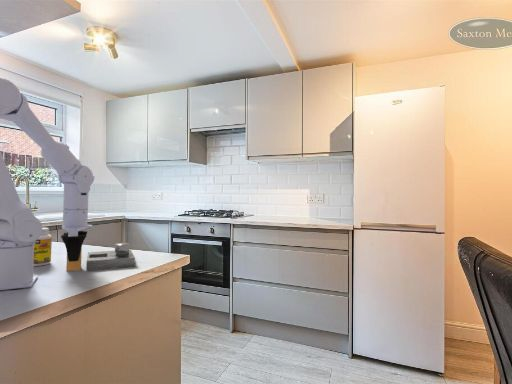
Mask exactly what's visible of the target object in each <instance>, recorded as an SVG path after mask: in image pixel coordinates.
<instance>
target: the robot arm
mask: <svg viewBox="0 0 512 384" xmlns="http://www.w3.org/2000/svg"><path fill="white" fill-rule="evenodd" d="M0 120H5V121H8V122H13V123H14V124H15V125H16V126H17V127H18V128H19V129H20V130H21V131H22V132H24V133H25V135H27V136H28V137H29V139H31V140H32V141H33V142H34V143H35V144H36V145H37V146H38V147H40V148H41V151H40V155H41V157H42V158H43V159H44V160H45V161H46V162H47V163H48V164H49V165H50V167H52V168H53V169H54V170H55V172H56V173H57V176H58V180H59V182H60V183H61V184H62V185H63V205H62V208H63V210H62V225H61V229H62V230H63V231H66V232H64V233H63V234H61V235H60V238H61V240H62V241H63V243H64V246H65V250H66V257H67V256H68V260H69V262H71V261H78V260H79V256H80V252H81V247H83V244H84V241H85V240H86V238H87V234H88V230H87V229H91V228H93V224H88V219H89V217H88V216H89V193H90V191H91V186H92V184H93V183H94V180H95V176H94V174H93V171H92V169H90V168H89V167H88V166H86V165H83V164H82V163H81V161H80V159H78V158H77V157H76V156H75V155H74V154H73V153H72V151H71V150H70V146H69V145H68V144H65V143H64V142H61V141H56V140H55V139H54V137H53V136H52V135H51V134H50V133H49V131H48V130H47V128H46V127H45V126H44V125H43V122H41V120H40V119H39V118H38V116H37V115H35V113H34V112H33V110H32V109H31V107H30V106H29V101H28V98H27V97H26V96H25V95H24V94H23V93H21V91H20V90H19V88H18V86H16V84H15V83H13V82H12V81H10V80H8V79H7V78H3V77H0ZM11 176H12V175H11V174H10V172H9V169H8V166H7V164H6V162H5V158H4V156H3V153H2V151H1V150H0V291H6V290H14V289H23V288H24V289H26V288H31V287H32V286H33V285H34V283H35V282H36V280H37V279H38V276H39V275H34V266H33V261H34V245H35V241H36V240H37V239H38V238H39V237H40V235H41V233H42V228H43V224H42V222H41V220H40V219H38V218H37V217H36V216H35V215H34V213H33V211H32V209H31V208H30V207H29V206H28V205H27V204H25V202H23V201H22V200H20V197H19V194H18V191H17V189H16V186H15V184H14V181H13V179H12V177H11Z"/></svg>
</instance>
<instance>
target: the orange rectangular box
mask: <svg viewBox="0 0 512 384" xmlns="http://www.w3.org/2000/svg"><path fill="white" fill-rule="evenodd" d="M82 247H83V246H82ZM82 247H81V252H80V256H79V260H78V261H71V262H69V260H68V256H67V255H66V267H65V268H66V269H65V271H66V272H72V271H80V270H82V269H81V268H82V253H83V252H82V250H83V248H82Z"/></svg>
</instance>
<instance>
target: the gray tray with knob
mask: <svg viewBox="0 0 512 384" xmlns="http://www.w3.org/2000/svg"><path fill="white" fill-rule="evenodd" d="M135 259H136V258H135V255H134V253H133V251H132V249H130V243H129V242H120V243H115V244H114V250H105V251H89V252H87V256H86V263H85V264H86V266H85V267H86V270H85V271H97V270H107V269H108V270H109V269H117V268H120V269H121V268H131V267H135V263H136V260H135Z"/></svg>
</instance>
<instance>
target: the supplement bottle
mask: <svg viewBox="0 0 512 384" xmlns="http://www.w3.org/2000/svg"><path fill="white" fill-rule="evenodd" d="M52 242H53V236H52V234H50V228H49V227H42V233H41V235H40V237H39V238H38V239H37V240H36V241H35V245H34V261H33V267H40V266H46V265H49V264H50V263H51V262H52V245H53V244H52Z"/></svg>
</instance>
